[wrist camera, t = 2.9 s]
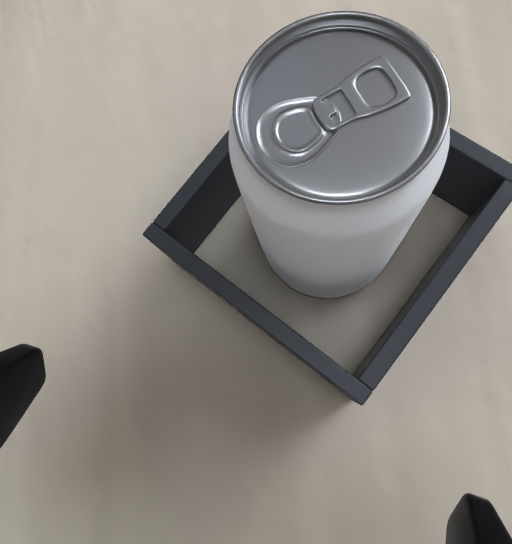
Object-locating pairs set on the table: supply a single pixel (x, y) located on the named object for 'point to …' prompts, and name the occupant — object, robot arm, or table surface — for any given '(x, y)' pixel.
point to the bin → (358, 387)
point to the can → (338, 146)
